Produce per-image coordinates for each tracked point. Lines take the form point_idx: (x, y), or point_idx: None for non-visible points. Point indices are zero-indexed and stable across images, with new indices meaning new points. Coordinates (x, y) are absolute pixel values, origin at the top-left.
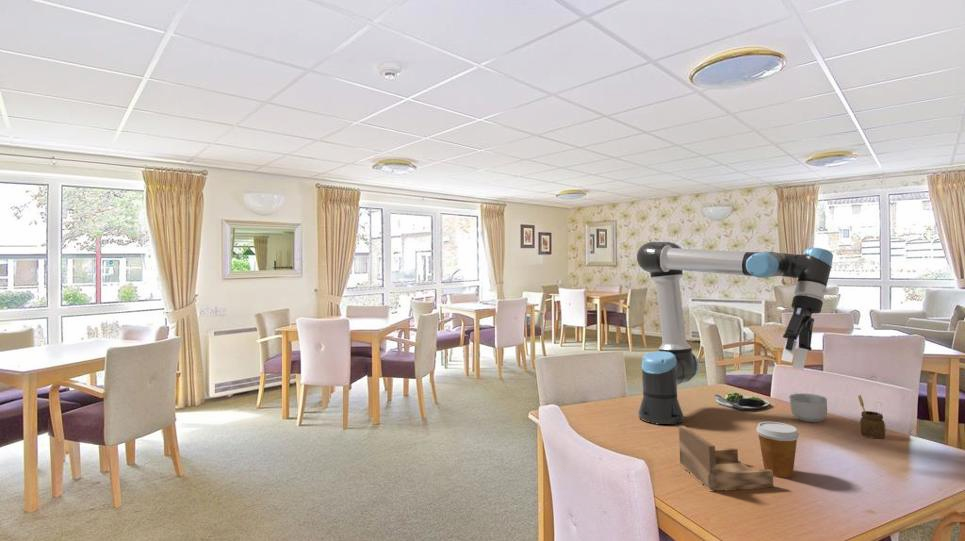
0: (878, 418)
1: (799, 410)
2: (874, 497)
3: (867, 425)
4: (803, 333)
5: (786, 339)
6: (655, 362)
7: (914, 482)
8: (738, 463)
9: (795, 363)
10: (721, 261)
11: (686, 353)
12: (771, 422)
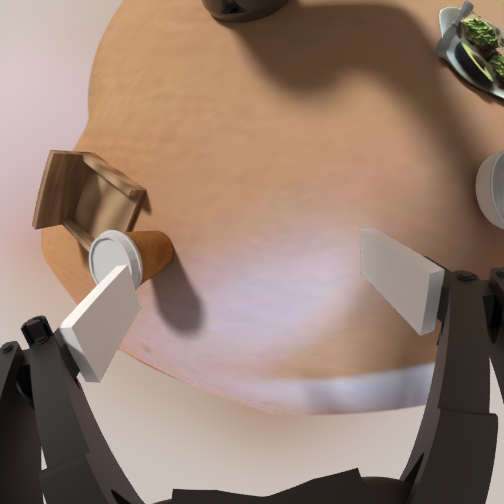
0: None
1: (481, 178)
2: (180, 352)
3: None
4: (430, 411)
5: (62, 327)
6: None
7: (267, 385)
8: (131, 202)
9: (371, 245)
10: None
11: None
12: (122, 248)
